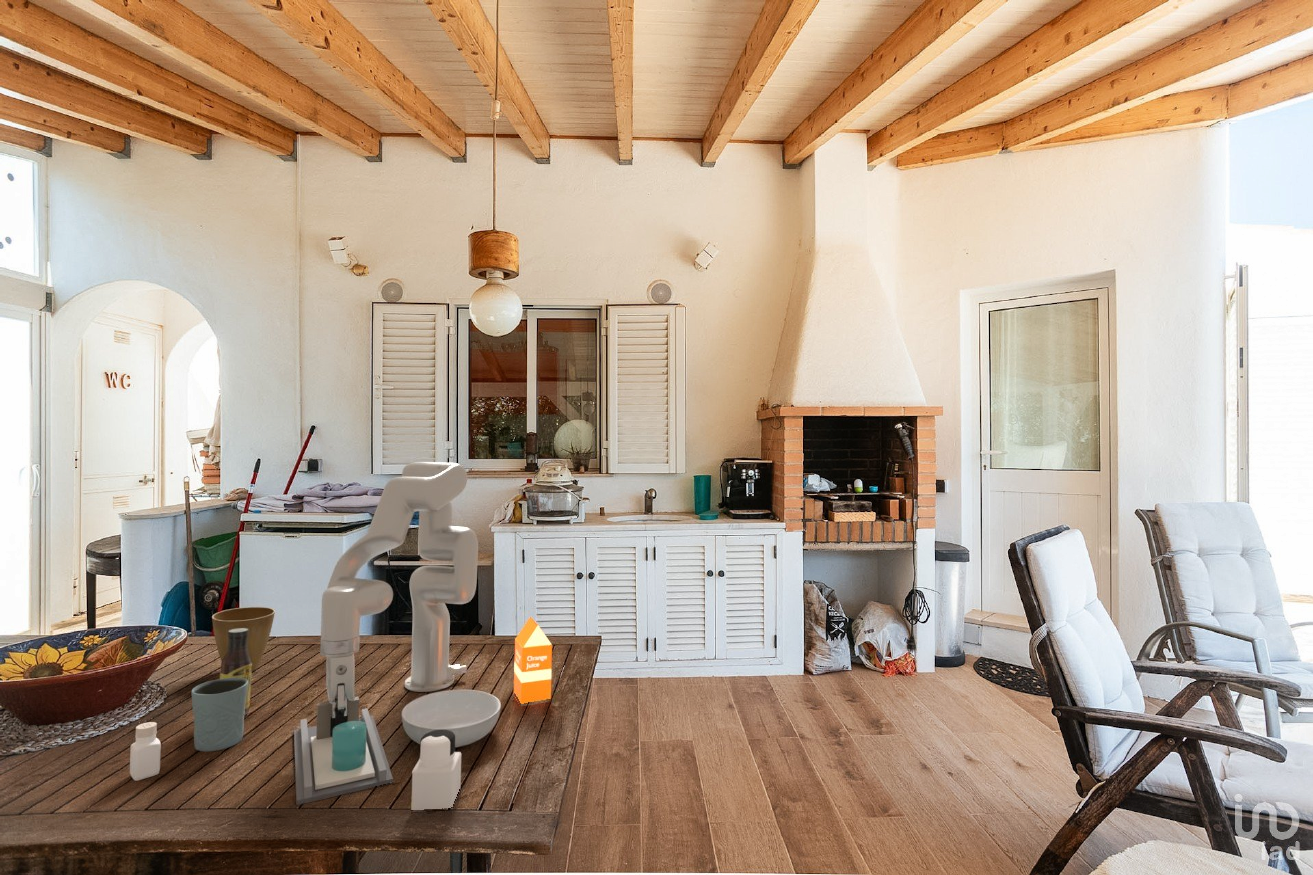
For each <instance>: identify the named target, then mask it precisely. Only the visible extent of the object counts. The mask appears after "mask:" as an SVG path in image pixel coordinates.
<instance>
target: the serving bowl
mask: <svg viewBox="0 0 1313 875" xmlns="http://www.w3.org/2000/svg"><path fill="white" fill-rule="evenodd" d="M501 709H502V704H501V701H500V699H499V698H498V697H496V696H495V695H493V694H491V693H489V692H485V691H482V690H474V689H448V690H441V691H435V692H432V693H428V694H425V695H422V696H420V697H417V698H415V699H413V700H412V701H410V702H409V703H407V704H406V705H405V706H404V707H403V708H402V710H401V722H402V726H403V727H402V728H403V730H404V731H405V733H406V734H407V736H408V737H409V738H410V739H411V740H412V741H414V742H415V743H417V744H419V745H420V740H421V738H422V737H423V735H425V734H426V733H428V732H431V731H434V730H440V729H443V730H449V731H452V732H453V733H454V734H455V748H460V747H465V746H468V745H471V744H473V743H476V742H478V741H479V740H481V739H483V738H484V737H486V736H487V735H488V734H489V733H490V732H491V731H492V730H493V728H494V727H495V725H496V724H497V723H498V719H499V717H500V713H501Z"/></svg>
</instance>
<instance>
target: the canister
mask: <svg viewBox="0 0 1313 875" xmlns="http://www.w3.org/2000/svg"><path fill="white" fill-rule="evenodd" d="M366 731H367V724H366V723H365V722H362V721H350V722H345V723H342V724H339V725H337V726H335V727H334V728H333V738H332V769H333V770H336V771H349V770H353V769H356V768H359V767H361V766H362V765H363V764H364V763H365V762H366Z"/></svg>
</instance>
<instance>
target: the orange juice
mask: <svg viewBox="0 0 1313 875" xmlns="http://www.w3.org/2000/svg"><path fill="white" fill-rule="evenodd" d="M552 654H553V644H552V643H551V641H550V640H549V639H548V637H547V636H546V634H545V633H544V631H543V629H542V628H541V627H540V625H539V624H538V623H537V622H536V621H535V620H534V619H533V618H532V617H531V616H529V618H528V619H527V621H526V622H525V624H524V626H523V627H522V628H521V630H520V631H519V633H518V635H517V636H516V637H515V638H514V668H513V670H514V671H513V672H514V674H513V675H514V676H513V677H514V678H513V694H514V693H515V694H516V696H517V697H518V699H519V701H520V703H521V704H524V703H528V702H534V701H541V700H546V699H551V698H552V663H553V662H552V658H553V657H552Z"/></svg>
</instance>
